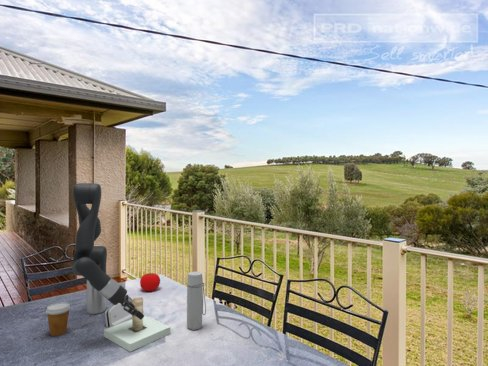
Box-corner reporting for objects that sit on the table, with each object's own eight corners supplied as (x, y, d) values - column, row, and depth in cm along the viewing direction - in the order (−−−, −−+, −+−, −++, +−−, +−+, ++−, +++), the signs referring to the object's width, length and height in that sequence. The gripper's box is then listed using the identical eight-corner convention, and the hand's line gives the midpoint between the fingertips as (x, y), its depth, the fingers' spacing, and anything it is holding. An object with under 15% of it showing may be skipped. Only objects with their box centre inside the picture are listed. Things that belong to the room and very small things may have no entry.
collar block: (104, 336, 142) (104, 329, 142) (143, 321, 158) (143, 315, 158) (130, 351, 130) (130, 344, 130) (170, 333, 145) (170, 326, 145)
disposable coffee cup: (75, 329, 149) (75, 303, 148) (57, 339, 140) (57, 311, 139) (59, 326, 152) (59, 300, 152) (40, 335, 143) (40, 308, 143)
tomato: (136, 292, 198) (136, 275, 198) (145, 286, 210) (145, 270, 210) (154, 293, 196) (154, 276, 196) (162, 287, 208) (162, 271, 208)
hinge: (114, 329, 149) (108, 307, 150) (106, 331, 151) (101, 309, 152) (140, 315, 164) (135, 296, 166) (133, 317, 166) (128, 298, 167)
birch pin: (130, 331, 143) (130, 299, 143) (139, 327, 147) (139, 296, 147) (136, 334, 141) (136, 301, 141) (144, 330, 144) (145, 298, 144)
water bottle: (189, 332, 147) (189, 276, 147) (184, 325, 154) (184, 272, 154) (208, 328, 151) (209, 274, 151) (202, 321, 158) (203, 269, 158)
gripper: (119, 289, 134) (150, 314, 139) (119, 279, 148) (147, 303, 152) (105, 304, 132) (137, 329, 137) (106, 293, 146) (135, 316, 150)
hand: (142, 315), depth 144 cm, fingers closed on birch pin, 4 cm apart
